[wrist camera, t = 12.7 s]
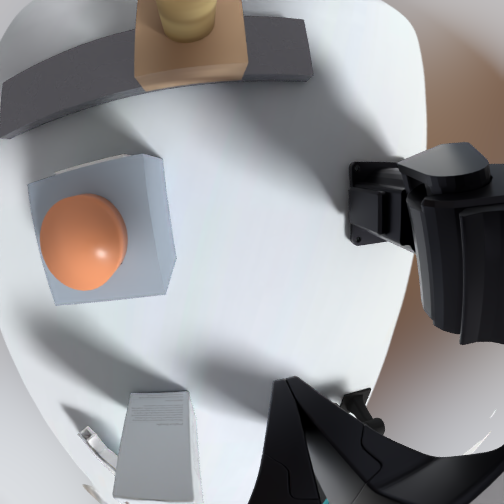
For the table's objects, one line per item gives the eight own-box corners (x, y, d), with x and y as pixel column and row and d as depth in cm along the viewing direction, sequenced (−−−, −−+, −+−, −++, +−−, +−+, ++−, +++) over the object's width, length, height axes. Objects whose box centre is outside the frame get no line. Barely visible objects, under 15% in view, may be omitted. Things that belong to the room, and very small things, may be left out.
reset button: (131, 183, 14) (109, 187, 10) (144, 260, 15) (128, 285, 11) (65, 198, 13) (32, 207, 9) (80, 269, 14) (53, 294, 11)
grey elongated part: (68, 421, 21) (94, 495, 13) (122, 400, 26) (164, 467, 18) (119, 479, 26) (153, 533, 18) (161, 460, 31) (201, 511, 22)
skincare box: (143, 417, 23) (132, 515, 12) (129, 388, 22) (107, 496, 10) (199, 415, 24) (207, 519, 12) (191, 387, 23) (194, 503, 11)
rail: (297, 28, 15) (303, 19, 14) (305, 81, 17) (313, 75, 15) (12, 86, 12) (3, 83, 11) (9, 139, 14) (-1, 138, 12)
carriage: (234, 9, 13) (254, -67, 5) (241, 79, 15) (270, 15, 7) (146, 19, 12) (119, -53, 4) (145, 91, 14) (102, 35, 6)
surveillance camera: (402, 480, 17) (314, 513, 15) (360, 412, 28) (285, 429, 27) (426, 454, 15) (329, 494, 14) (372, 381, 27) (290, 399, 25)
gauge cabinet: (162, 154, 17) (142, 147, 11) (176, 258, 19) (165, 294, 13) (72, 174, 16) (27, 178, 10) (90, 270, 18) (55, 305, 12)
